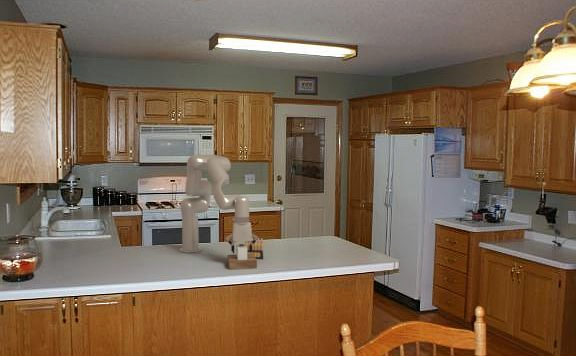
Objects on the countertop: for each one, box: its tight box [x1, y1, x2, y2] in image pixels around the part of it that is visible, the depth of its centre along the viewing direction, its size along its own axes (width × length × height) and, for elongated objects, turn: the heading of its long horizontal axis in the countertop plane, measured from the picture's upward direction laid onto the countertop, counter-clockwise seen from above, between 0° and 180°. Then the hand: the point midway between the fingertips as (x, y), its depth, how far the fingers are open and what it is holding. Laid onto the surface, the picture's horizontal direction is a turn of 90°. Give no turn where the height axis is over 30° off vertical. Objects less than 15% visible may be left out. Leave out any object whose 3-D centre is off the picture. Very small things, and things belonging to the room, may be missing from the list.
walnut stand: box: [227, 254, 258, 270], centre depth 269 cm, size 16×14×4 cm
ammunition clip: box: [244, 237, 264, 260], centre depth 284 cm, size 11×2×12 cm, turn 86°
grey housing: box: [235, 243, 248, 260], centre depth 269 cm, size 5×9×7 cm, turn 10°
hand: (241, 252), depth 269 cm, fingers open, 8 cm apart
